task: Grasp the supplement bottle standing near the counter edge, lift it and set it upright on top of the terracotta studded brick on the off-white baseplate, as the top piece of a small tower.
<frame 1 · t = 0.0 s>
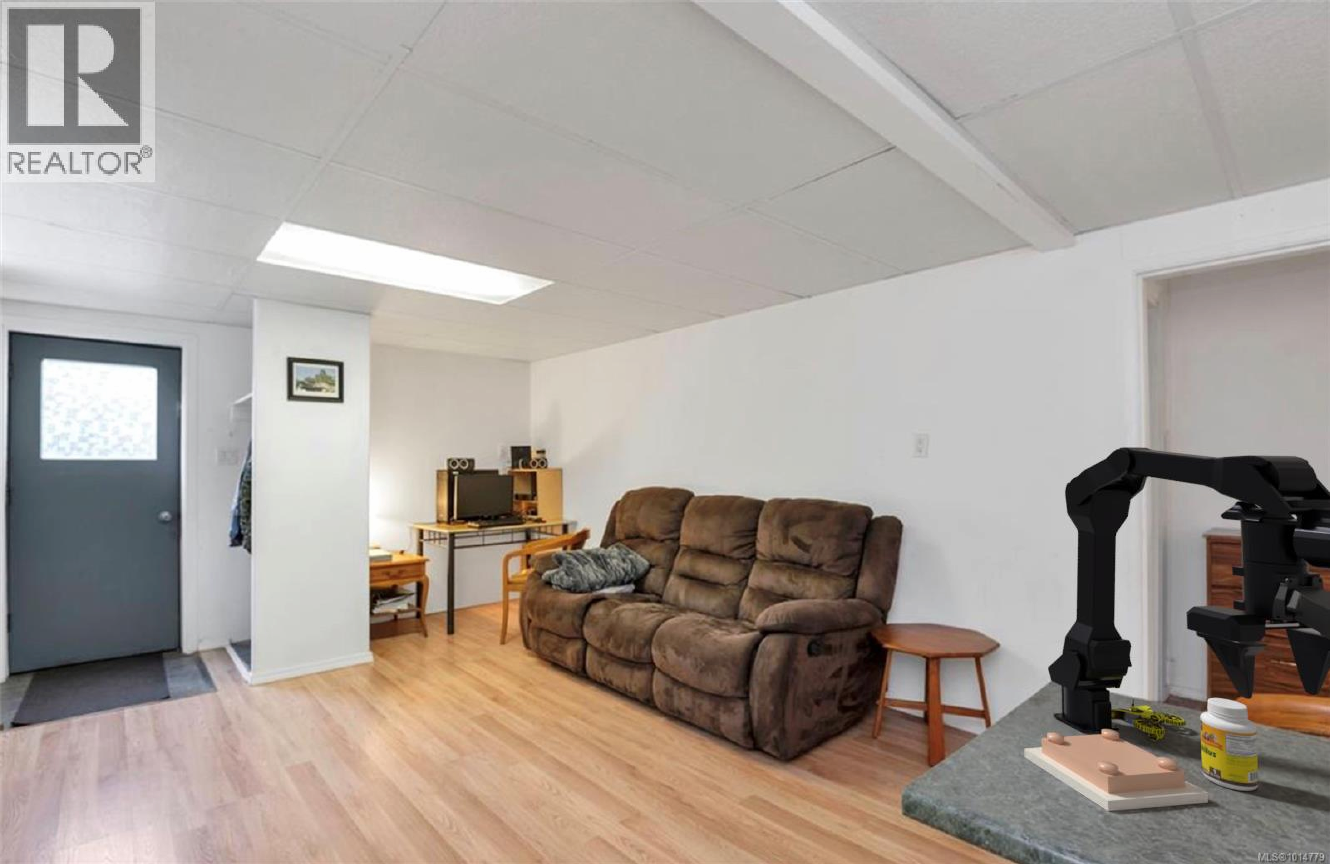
hand: (1278, 695, 74), 15 cm above the countertop, tool pointing down, fingers open, 9 cm apart
supplement bottle: (1229, 783, 83), on the countertop
tower base: (1109, 778, 84), on the countertop
toy motorcycle: (1146, 731, 99), on the countertop, touching arm
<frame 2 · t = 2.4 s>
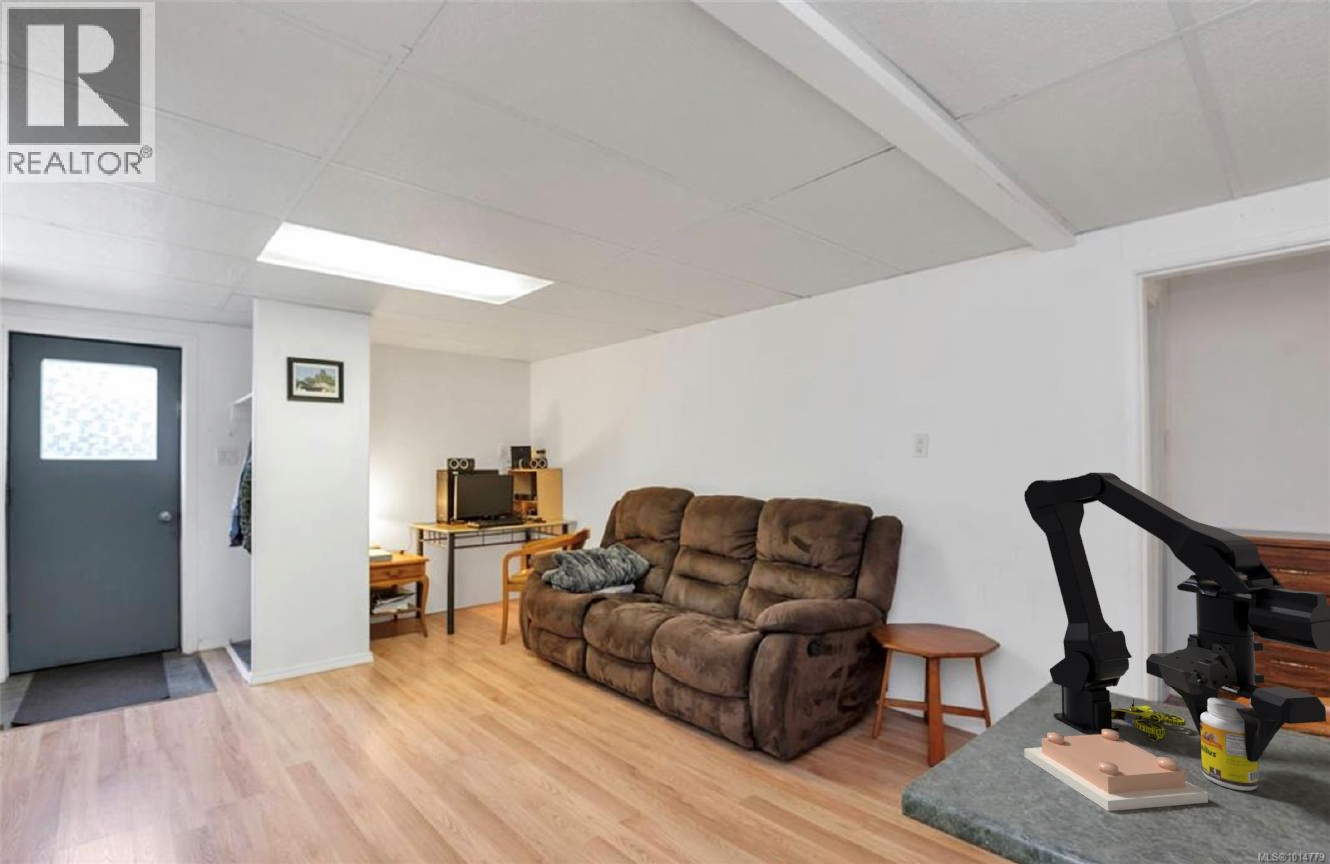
hand: (1228, 750, 83), 4 cm above the countertop, tool pointing down, fingers closed on supplement bottle, 6 cm apart
supplement bottle: (1229, 783, 83), on the countertop, touching gripper
everything else where it was.
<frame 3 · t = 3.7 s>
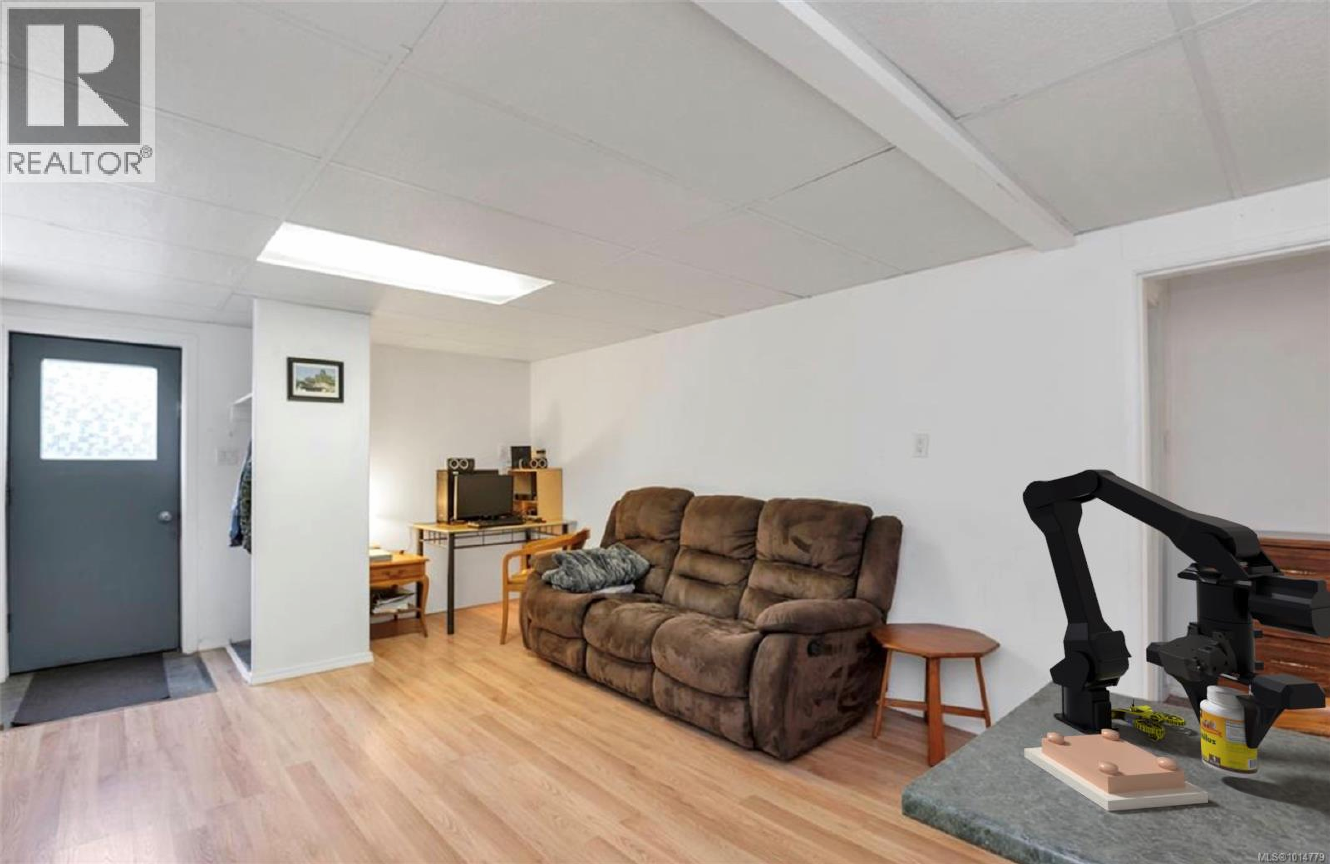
hand: (1228, 737, 84), 6 cm above the countertop, tool pointing down, fingers closed on supplement bottle, 6 cm apart
supplement bottle: (1229, 770, 83), point 1 cm above the countertop, touching gripper
everything else where it was.
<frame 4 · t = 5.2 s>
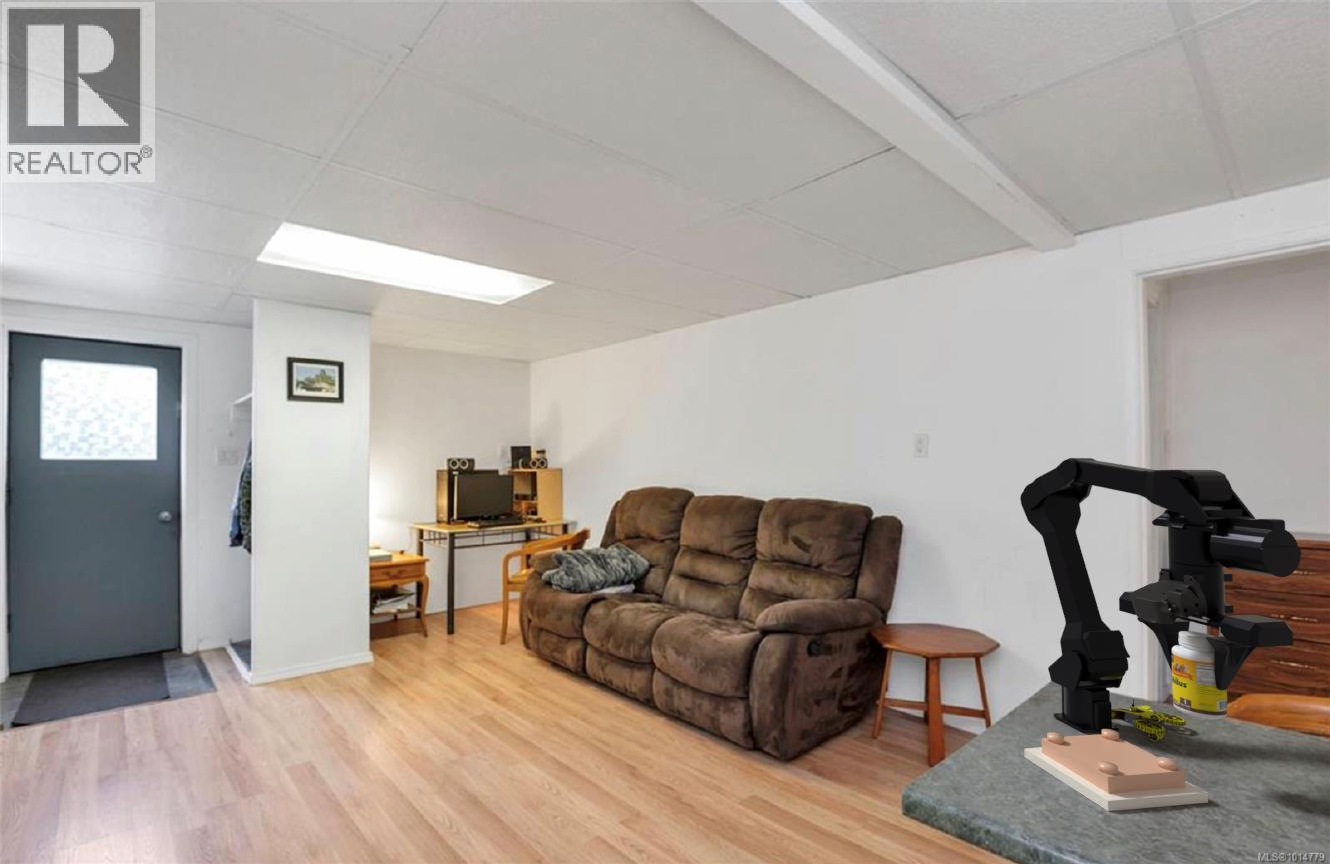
hand: (1198, 681, 84), 13 cm above the countertop, tool pointing down, fingers closed on supplement bottle, 6 cm apart
supplement bottle: (1199, 714, 84), point 9 cm above the countertop, touching gripper
everything else where it was.
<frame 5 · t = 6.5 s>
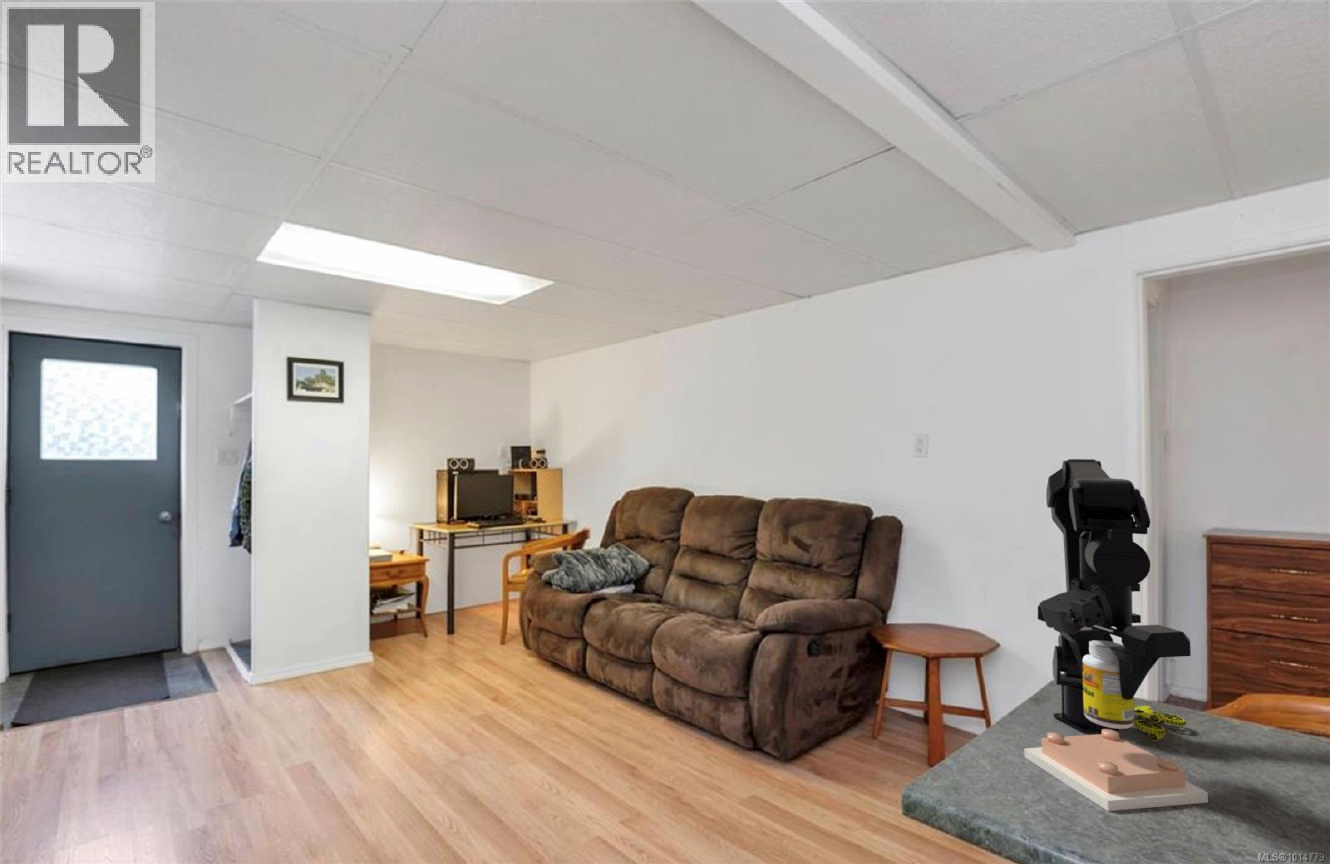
hand: (1107, 690, 85), 11 cm above the countertop, tool pointing down, fingers closed on supplement bottle, 6 cm apart
supplement bottle: (1108, 723, 84), point 7 cm above the countertop, touching gripper
everything else where it was.
when the fingers open (8 cm above the countertop, at t = 7.9 s): supplement bottle drops 1 cm, resting on tower base.
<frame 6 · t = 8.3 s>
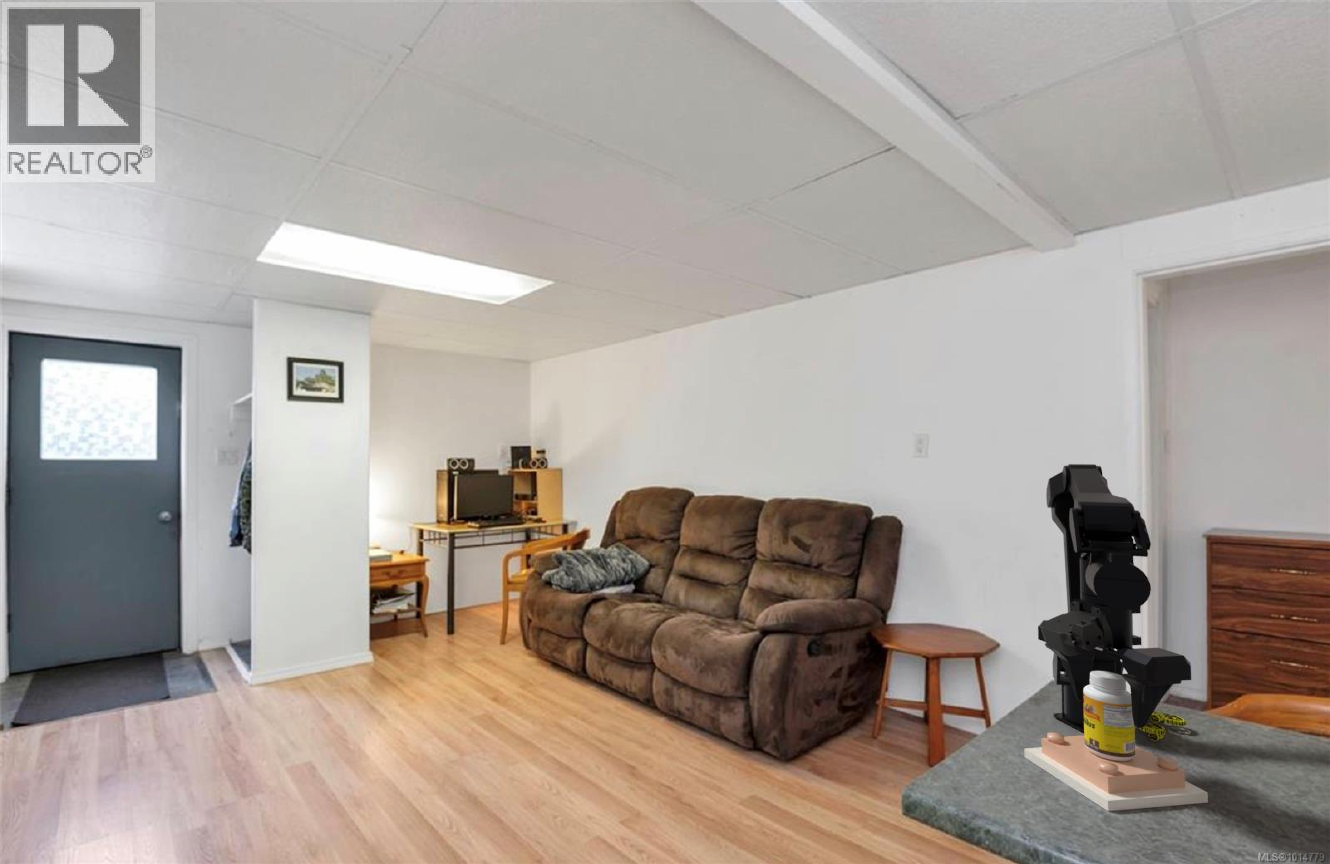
hand: (1108, 712, 84), 8 cm above the countertop, tool pointing down, fingers open, 9 cm apart
supplement bottle: (1109, 754, 84), point 3 cm above the countertop, touching tower base
everything else where it was.
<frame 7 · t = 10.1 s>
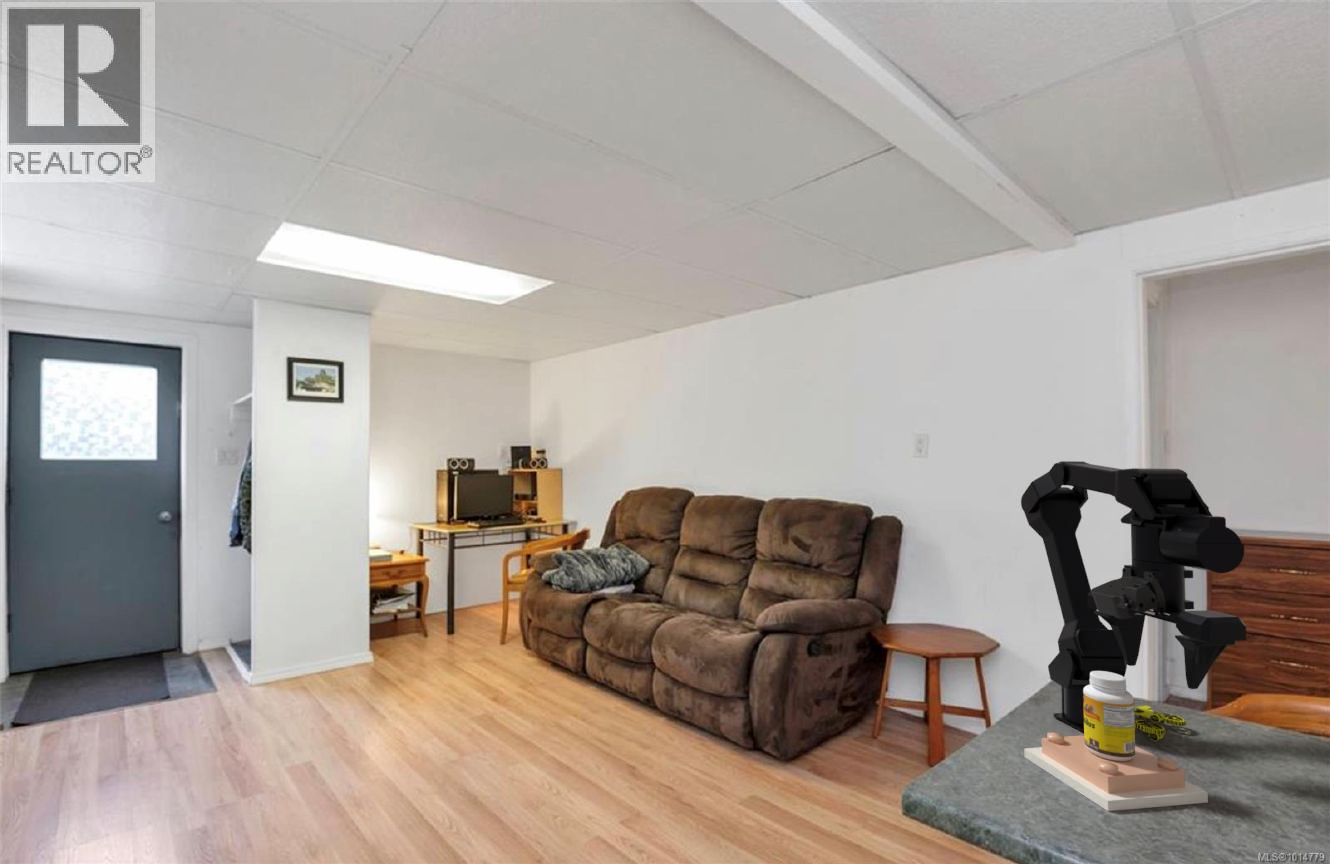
hand: (1160, 676, 86), 13 cm above the countertop, tool pointing down, fingers open, 9 cm apart
nothing on the countertop moved.
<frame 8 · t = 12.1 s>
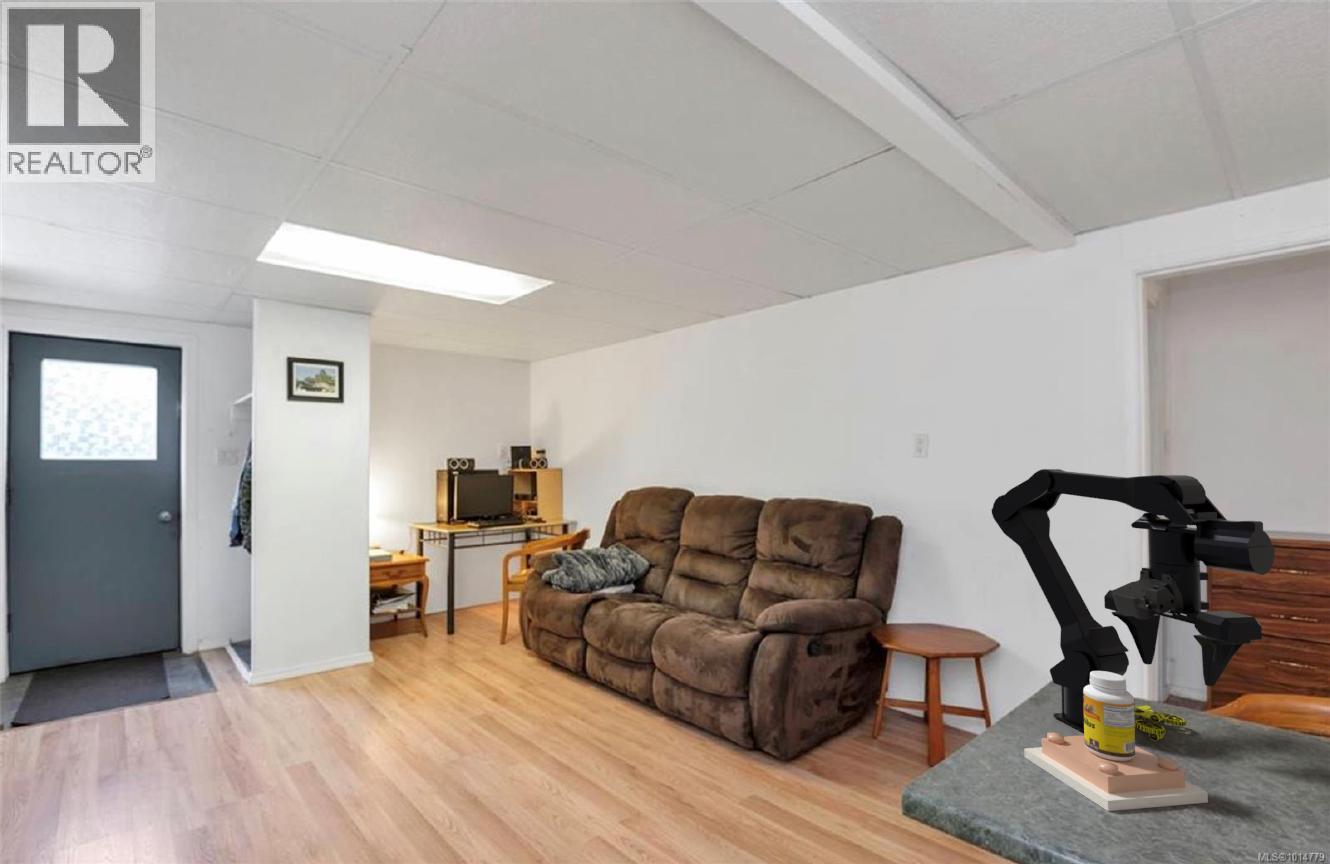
hand: (1177, 674, 90), 12 cm above the countertop, tool pointing down, fingers open, 9 cm apart
nothing on the countertop moved.
at the end: supplement bottle 0.0 cm off-centre on the tower base, point 3.0 cm above the tower base's base; supplement bottle tilted 0°; the gripper is holding nothing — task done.
